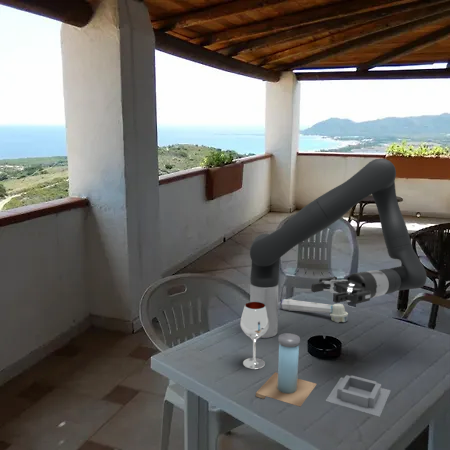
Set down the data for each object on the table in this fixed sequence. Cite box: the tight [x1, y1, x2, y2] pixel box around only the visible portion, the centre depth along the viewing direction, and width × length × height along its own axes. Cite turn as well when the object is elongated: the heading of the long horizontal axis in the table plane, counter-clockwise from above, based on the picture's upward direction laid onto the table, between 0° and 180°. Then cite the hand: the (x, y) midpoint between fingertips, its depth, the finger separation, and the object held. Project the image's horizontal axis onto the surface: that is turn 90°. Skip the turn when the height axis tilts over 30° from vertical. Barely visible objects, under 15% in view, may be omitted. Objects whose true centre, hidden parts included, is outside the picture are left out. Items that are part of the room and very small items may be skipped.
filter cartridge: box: [277, 332, 301, 393], centre depth 119 cm, size 5×5×14 cm
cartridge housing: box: [325, 374, 392, 418], centre depth 117 cm, size 13×13×4 cm
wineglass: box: [240, 301, 269, 370], centre depth 134 cm, size 8×8×18 cm
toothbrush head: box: [280, 298, 349, 324], centre depth 171 cm, size 5×7×25 cm
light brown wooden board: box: [255, 371, 317, 408], centre depth 121 cm, size 12×12×1 cm
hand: (322, 293), depth 122 cm, fingers open, 8 cm apart
